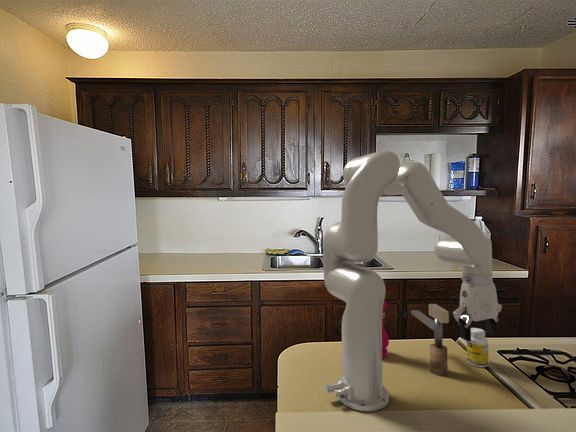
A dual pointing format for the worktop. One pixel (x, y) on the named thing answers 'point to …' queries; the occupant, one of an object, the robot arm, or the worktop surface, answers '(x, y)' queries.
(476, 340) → the supplement bottle
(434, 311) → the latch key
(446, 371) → the post
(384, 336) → the pepper mill
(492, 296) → the robot arm
